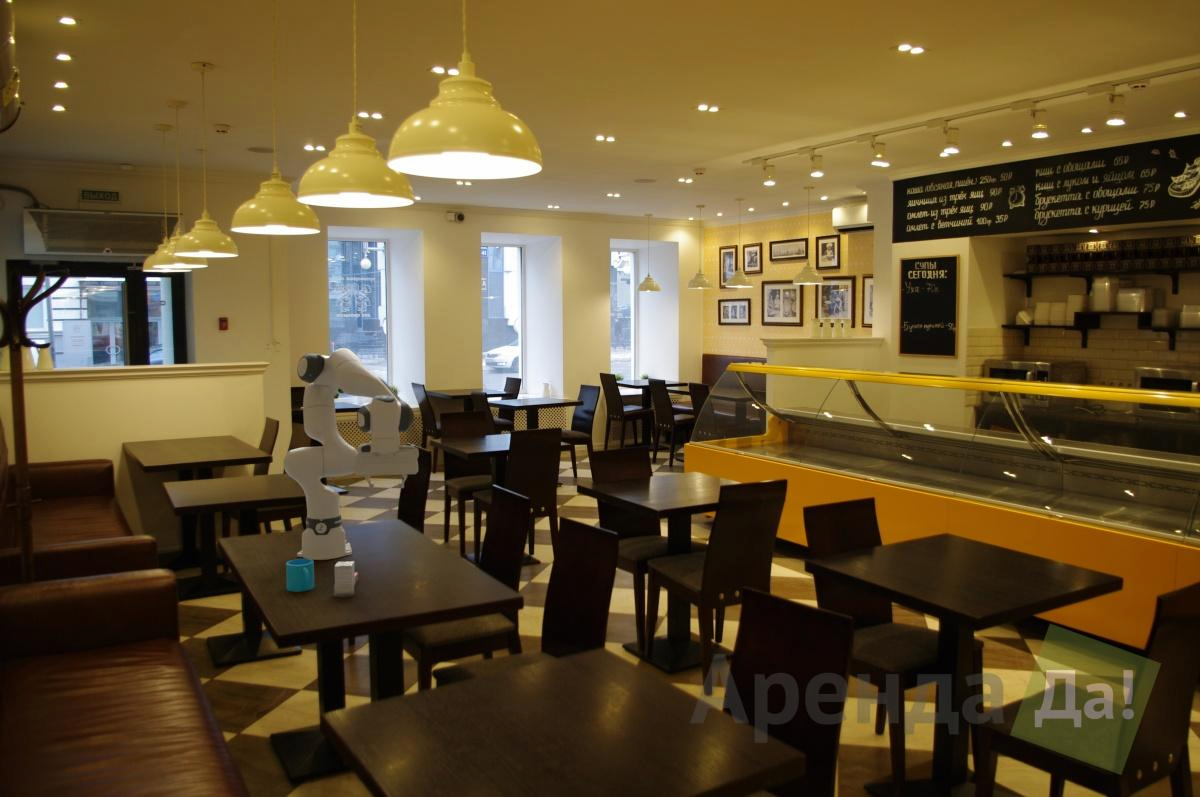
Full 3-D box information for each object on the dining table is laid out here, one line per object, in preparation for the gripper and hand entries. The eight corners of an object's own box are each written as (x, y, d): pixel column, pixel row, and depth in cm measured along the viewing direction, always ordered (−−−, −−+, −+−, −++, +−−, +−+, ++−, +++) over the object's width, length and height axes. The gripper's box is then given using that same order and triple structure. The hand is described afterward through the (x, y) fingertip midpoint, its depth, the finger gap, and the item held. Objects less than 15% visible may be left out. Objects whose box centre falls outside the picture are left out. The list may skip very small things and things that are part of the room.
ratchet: (343, 580, 287) (342, 560, 287) (362, 579, 288) (362, 560, 287) (332, 598, 269) (331, 576, 268) (352, 597, 269) (352, 576, 269)
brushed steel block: (338, 582, 274) (337, 561, 274) (354, 582, 275) (354, 561, 274) (335, 587, 269) (334, 566, 269) (352, 586, 270) (351, 565, 269)
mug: (283, 586, 280) (282, 561, 279) (309, 582, 285) (308, 557, 284) (295, 596, 270) (294, 570, 270) (322, 591, 275) (321, 565, 274)
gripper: (419, 444, 292) (419, 485, 293) (355, 445, 289) (355, 487, 291) (418, 446, 286) (418, 489, 287) (352, 447, 283) (353, 490, 284)
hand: (386, 488), depth 289 cm, fingers open, 8 cm apart
